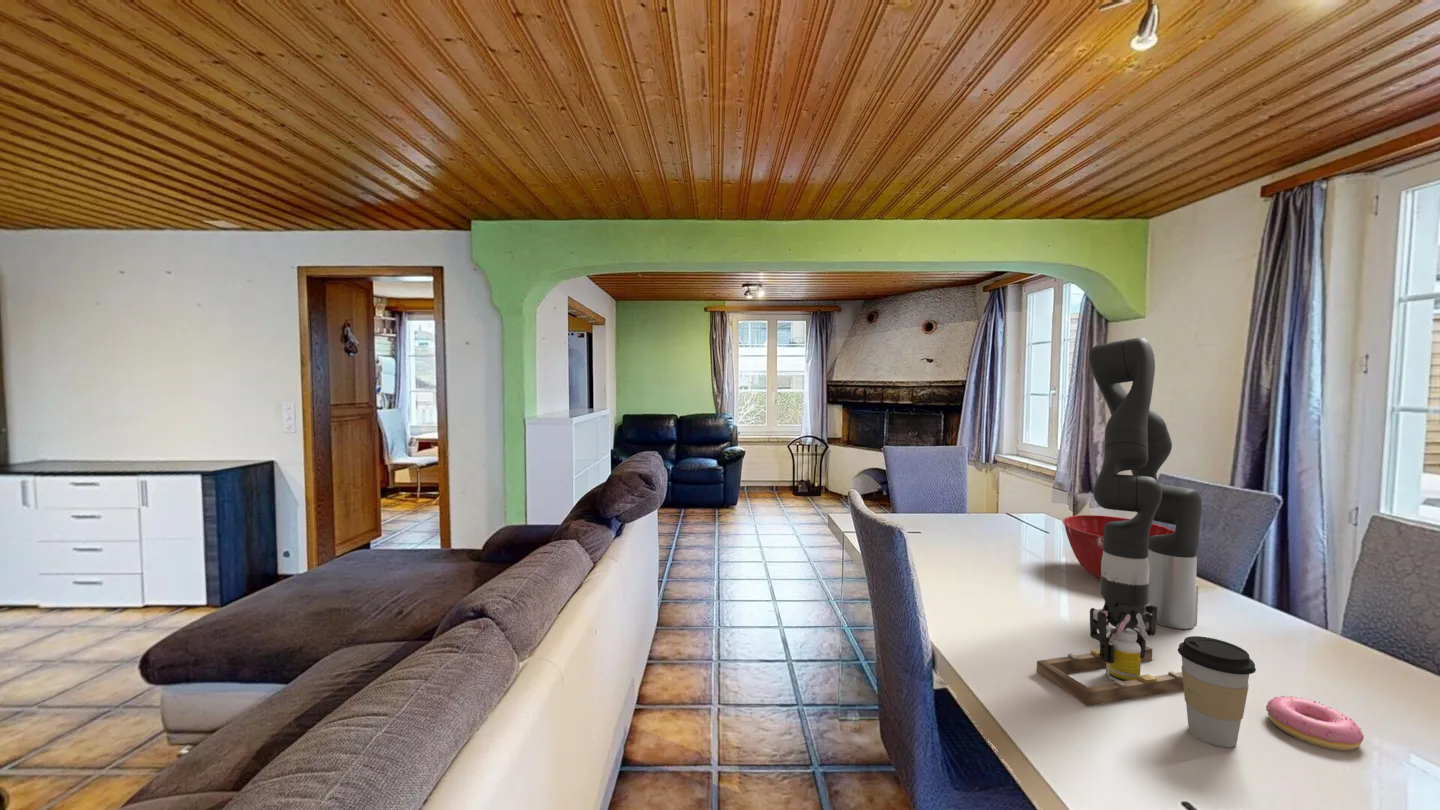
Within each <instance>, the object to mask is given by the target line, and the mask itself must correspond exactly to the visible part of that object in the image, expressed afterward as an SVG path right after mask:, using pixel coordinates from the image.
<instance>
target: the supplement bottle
mask: <svg viewBox="0 0 1440 810" xmlns="http://www.w3.org/2000/svg"><path fill="white" fill-rule="evenodd" d="M1111 628H1116V627H1114V626H1112V627H1111ZM1135 641H1137V632H1136V631H1134V630H1133V629H1130V628H1127V629H1125V630H1123V631H1122V633H1121V635H1120V636H1117V637H1116V639H1115V641H1114V644H1113V645H1114V663H1107V662H1106V667H1105V673H1106V677H1108V678H1109V679H1111V680H1112V681H1114V680H1118V681H1120V682H1122V681H1129V680H1135V679H1138V676H1140V675H1141V664H1142V662H1141V647H1140V645H1139V644H1138V643H1137V642H1135Z"/></svg>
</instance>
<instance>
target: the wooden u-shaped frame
mask: <svg viewBox="0 0 1440 810" xmlns="http://www.w3.org/2000/svg"><path fill="white" fill-rule="evenodd" d="M1145 648H1146V649H1145V657H1144V658H1142V659H1141V663H1143V662H1150V661H1151V662H1152V661H1153V648H1151V647H1150V646H1148V645H1146V647H1145ZM1103 668H1104V669H1106V661H1104V660H1102V659H1101V657H1100V648H1097V649H1090V653H1083V654H1076V655H1075V654H1072V653H1069V654H1067V656H1062V657H1054V658H1047V659H1046V658H1045V659H1040V660H1036V674H1038V675H1039V676H1040V677H1042V678H1044V679H1045V680H1046V681H1049V682H1050V683H1051V684H1053V685H1054V686H1056V687H1057V688H1058V689H1061V690H1063V692H1065V693H1067V694H1069V696H1072V697H1073V698H1074V699H1076V700H1077V701H1079V702H1080V703H1082V704H1083V705H1085V706H1086V707H1091V706H1097V705H1098V706H1099V705H1102V704H1109V703H1115V702H1121V701H1126V700H1132V699H1139V698H1144V697H1151V696H1155V695H1162V694H1168V693H1169V694H1170V693H1174V692H1179V691H1184V688H1183V677H1182V671H1179V672H1173V671H1168V672H1167V674H1161V675H1156V676H1152V675H1151V674H1149V673H1148V674H1147V673H1146V674H1140V676H1138V679H1135V680H1129V681H1122V682H1120V681H1118V680H1113V682H1112V683H1111V682H1110V683H1105V684H1099V685H1093V686H1087V685H1085V684H1083V683H1082V682H1080V681H1078V680H1077V679H1075V678H1073V677H1072V676H1070V675H1068V674H1072V673H1077V672H1085V671H1091V670H1096V669H1103Z"/></svg>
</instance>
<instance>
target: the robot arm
mask: <svg viewBox="0 0 1440 810" xmlns="http://www.w3.org/2000/svg"><path fill="white" fill-rule="evenodd" d="M1088 362H1089V363H1088V364H1089V368H1090V371H1091V373H1092V376H1093V378H1094V380H1095V382H1096V385H1097V387H1098V389H1099V391H1100V393H1101V395H1102V396H1103V398H1104V401H1105V404H1106V405H1107V407H1108V410H1109V412H1110V413H1109V414H1110V415H1111V416H1110V418H1109V419H1108V421H1107V422H1106V425H1105V430H1104V457H1103V461H1102V466H1101V469H1100V472H1099V474H1098V476H1097V478H1096V481H1095V483H1094V485H1093V498H1094V501H1095V502H1096V503H1097V505H1098V506H1099V507H1100V508H1103V509H1106V510H1111V511H1124V512H1131V513H1136V514H1135V516H1133V517H1132V518H1129V519H1130V520H1124V521H1112V522H1108V523H1106V524H1105V526H1104V542H1103V556H1102V562H1101V579H1100V596H1101V597H1102V598H1103V599H1104V604H1103V607H1102V608H1100V609H1097V608H1094V607H1091V608H1090V610H1089V636H1090V638H1092V639H1094V640H1096V641H1097V642H1099V649H1100V657H1101V659H1102V660H1104V661H1106V662H1107V663H1114V645H1113V644H1114V641H1115V639H1116V637H1117V636H1120V635H1121V633H1122V631H1123V630H1125V629H1127V628H1130V629H1133V630H1134V631H1136V632H1137V641H1135V642H1137V643H1138V644H1139V645H1140V647H1141V659H1142V658H1144V657H1145V649H1146V648H1145V647H1146V646H1147V644H1146V641H1148V639H1149V637H1150V636H1151V637H1155V635H1156V632H1157V624H1158V625H1161V626H1164V627H1168V628H1174V629H1181V630H1182V629H1183V630H1189V629H1191V630H1192V629H1194V628H1195V625H1197V624H1198V609H1199V608H1198V606H1199V605H1198V604H1199V603H1198V602H1199V585H1197V566H1198V565H1197V562H1198V560H1197V559H1198V558H1197V557H1198V556H1197V555H1198V545H1199V540H1200V529H1201V519H1202V512H1203V511H1202V510H1203V509H1202V508H1203V504H1202V497H1201V495H1200V493H1199V492H1198V491H1197V490H1196V489H1193V488H1188V487H1181V486H1175V485H1166V484H1162V483H1160V481H1159V479H1158V477H1157V476H1158V475H1157V474H1158V471H1159V470H1160V468H1161V467H1162V466H1163V464H1165V462H1166V460H1167V459H1168V457H1170V454H1171V451H1172V449H1173V443H1172V439H1171V435H1170V433H1169V429H1168V427H1167V424H1166V422H1165V420H1164V419H1163V417H1161V415H1159V414H1158V413H1157V412H1156V411H1154V410H1153V409H1152V408H1151V401H1152V397H1153V388H1154V381H1155V380H1154V379H1155V373H1156V371H1155V370H1156V359H1155V354H1154V350H1153V347H1152V345H1151V344H1150V342H1149V341H1148V340H1147V339H1146V338H1144V337H1135V338H1128V339H1123V340H1117V341H1112V342H1107V343H1102V344H1098V345H1095V346H1093V347H1091V349H1090V350H1089V353H1088ZM1128 382H1129V383H1130V382H1132V385H1131V387H1130V390H1129V392H1127V391H1126V390H1125V388H1124V386H1123V385H1122V384H1123V383H1128ZM1126 471H1131V474H1132V475H1131V474H1121V472H1126ZM1119 473H1120V474H1119ZM1153 521H1154V522H1158V523H1163V524H1164V523H1165V524H1168V525H1174V526H1175V529H1174V531H1175V532H1174V533H1171V534H1166V535H1155V536H1151V537H1149V533H1150V528H1151V525H1152V524H1153ZM1147 623H1148V627H1147ZM1109 625H1111V626H1112V627H1113V626H1114V627H1116V628H1112V627H1111V626H1109ZM1109 632H1110V633H1109ZM1108 633H1109V635H1108V636H1107V634H1108Z"/></svg>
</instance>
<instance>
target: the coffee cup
mask: <svg viewBox="0 0 1440 810" xmlns="http://www.w3.org/2000/svg"><path fill="white" fill-rule="evenodd" d="M1177 652H1178V653H1179V655H1180V656H1181V663H1182V665H1181V672H1182V677H1183V688H1184V690H1183V696H1184V702H1185V707H1186V716H1187V727H1188V730H1189V733H1191V734H1192V735H1193V736H1194V737H1196V738H1197V739H1198V740H1201V742H1205V743H1207V744H1209V745H1213V746H1216V747H1220V748H1221V747H1222V748H1235V747H1236V746H1237V743H1238V737H1239V733H1240V728H1241V722H1242V719H1244V714H1245V707H1246V702H1247V699H1248V698H1247V696H1248V692H1249V679H1250V678H1249V677H1250V675H1251V674H1255V673H1256V671H1257V670H1256V669H1257V668H1256V664H1255V662H1254V661H1253V659H1251V656H1250V654H1249V653H1248V651H1247V650H1245V649H1243V648H1242V647H1239V646H1238V645H1236V644H1234V643H1233V644H1232V643H1231V642H1228V641H1225V640H1222V639H1217V638H1214V637H1207V636H1199V635H1193V636H1187V637H1185V638H1184V639H1183V641H1182V642H1181V643H1179V645H1178V648H1177Z"/></svg>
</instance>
